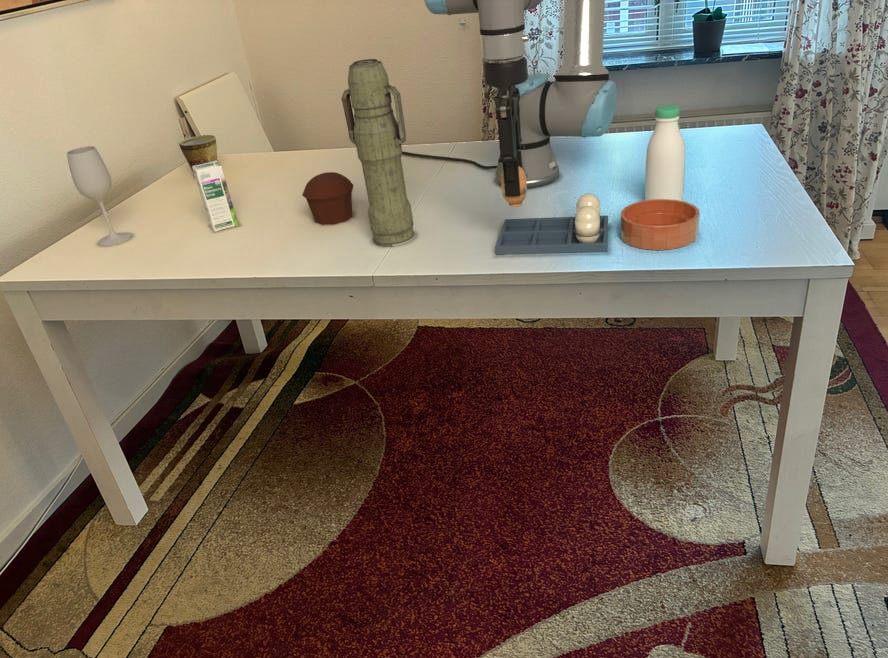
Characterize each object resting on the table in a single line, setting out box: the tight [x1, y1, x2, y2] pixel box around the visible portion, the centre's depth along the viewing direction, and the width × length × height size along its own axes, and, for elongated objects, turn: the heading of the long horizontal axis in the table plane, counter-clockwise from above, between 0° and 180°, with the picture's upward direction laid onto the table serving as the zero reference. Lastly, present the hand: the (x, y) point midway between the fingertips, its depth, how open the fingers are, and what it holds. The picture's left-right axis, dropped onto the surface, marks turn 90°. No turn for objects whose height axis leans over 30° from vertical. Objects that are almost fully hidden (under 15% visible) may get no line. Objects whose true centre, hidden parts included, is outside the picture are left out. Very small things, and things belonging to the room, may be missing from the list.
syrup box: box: [192, 159, 239, 232], centre depth 168 cm, size 6×6×14 cm
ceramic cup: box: [178, 134, 219, 177], centre depth 208 cm, size 13×10×10 cm
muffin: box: [301, 171, 354, 226], centre depth 166 cm, size 12×11×10 cm
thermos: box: [341, 58, 415, 247], centre depth 145 cm, size 9×12×35 cm
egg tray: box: [495, 215, 609, 256], centre depth 144 cm, size 14×21×2 cm
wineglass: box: [66, 145, 132, 247], centre depth 166 cm, size 8×8×21 cm
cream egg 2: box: [574, 206, 601, 243], centre depth 138 cm, size 5×5×8 cm
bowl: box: [620, 199, 701, 251], centre depth 139 cm, size 14×14×5 cm
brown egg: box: [501, 166, 528, 208], centre depth 136 cm, size 5×5×8 cm
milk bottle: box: [644, 104, 686, 201], centre depth 149 cm, size 8×8×20 cm
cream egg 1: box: [575, 193, 601, 216], centre depth 143 cm, size 5×5×8 cm
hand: (514, 190), depth 137 cm, fingers closed on brown egg, 4 cm apart
